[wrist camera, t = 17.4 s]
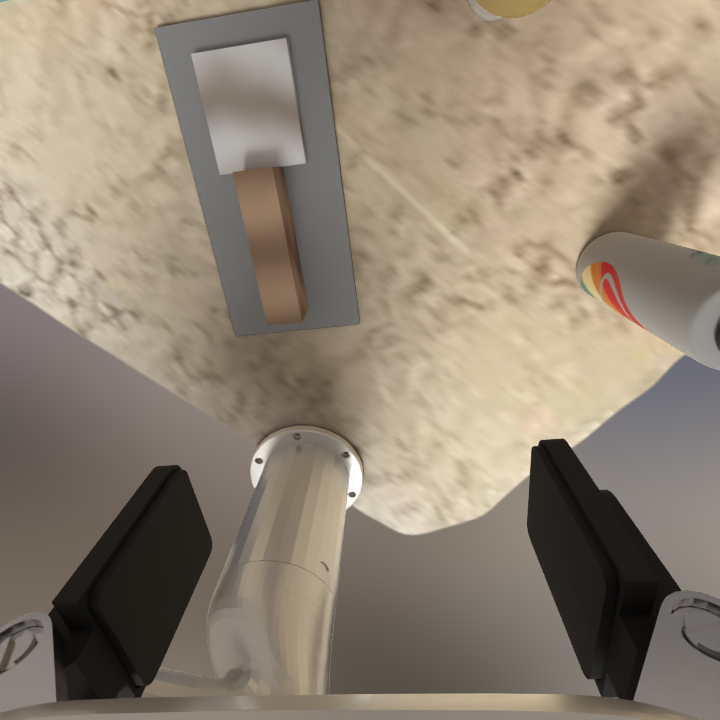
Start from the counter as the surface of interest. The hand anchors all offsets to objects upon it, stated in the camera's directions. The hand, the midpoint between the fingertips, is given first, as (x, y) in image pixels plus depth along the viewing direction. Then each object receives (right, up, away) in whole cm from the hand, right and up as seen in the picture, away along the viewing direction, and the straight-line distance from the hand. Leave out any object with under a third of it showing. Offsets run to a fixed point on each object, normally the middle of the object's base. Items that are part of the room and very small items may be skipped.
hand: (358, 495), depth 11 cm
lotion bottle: (+22, +12, +25) cm, 35 cm away
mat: (-7, +17, +24) cm, 30 cm away
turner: (-7, +17, +23) cm, 30 cm away
